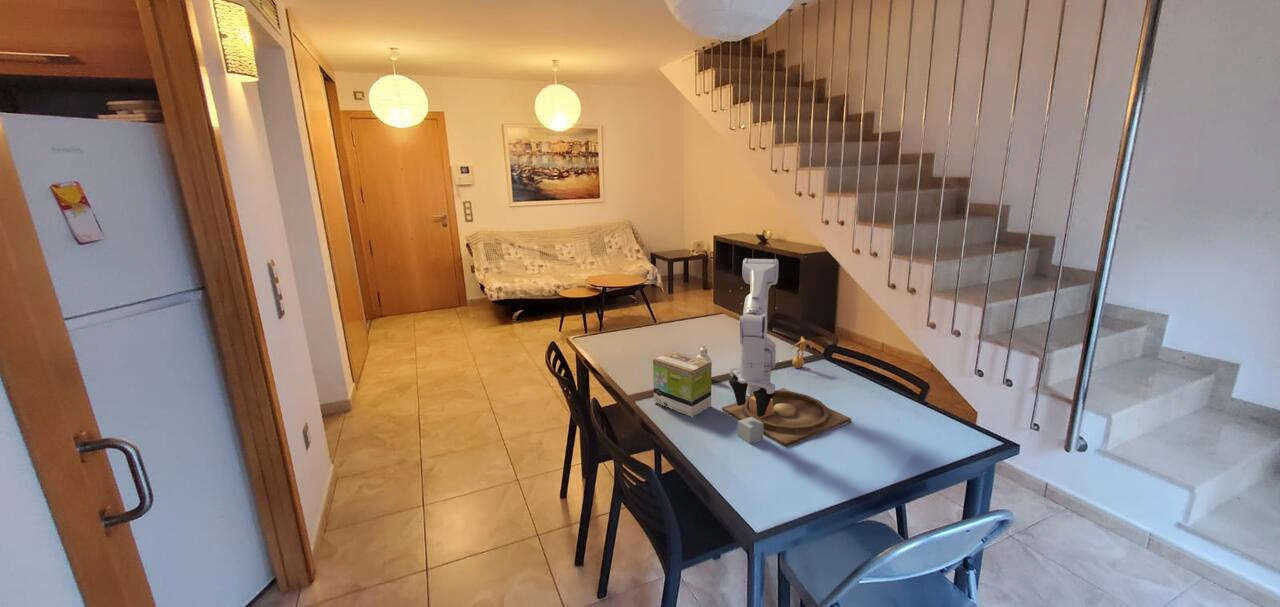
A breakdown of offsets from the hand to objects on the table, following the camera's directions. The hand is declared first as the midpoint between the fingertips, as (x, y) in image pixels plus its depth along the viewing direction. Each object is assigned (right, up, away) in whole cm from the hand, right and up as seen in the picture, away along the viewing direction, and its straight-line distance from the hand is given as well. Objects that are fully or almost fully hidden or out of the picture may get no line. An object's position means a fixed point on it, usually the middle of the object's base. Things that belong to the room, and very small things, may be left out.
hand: (750, 409), depth 133 cm
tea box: (-16, -3, +22) cm, 28 cm away
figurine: (+27, +4, +48) cm, 55 cm away
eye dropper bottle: (-7, +2, +42) cm, 43 cm away
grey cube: (0, -8, +2) cm, 8 cm away
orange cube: (+6, -4, +13) cm, 15 cm away
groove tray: (+12, -4, +13) cm, 19 cm away
